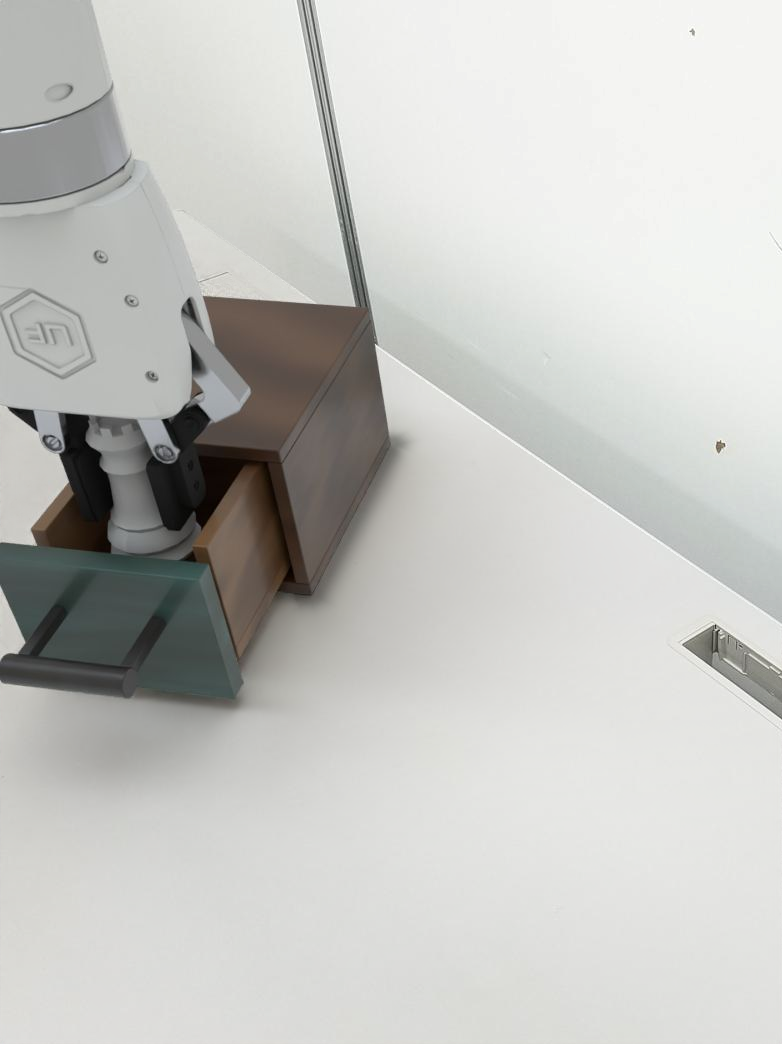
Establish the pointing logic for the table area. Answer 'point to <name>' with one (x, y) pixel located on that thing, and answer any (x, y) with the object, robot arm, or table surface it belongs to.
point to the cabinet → (302, 416)
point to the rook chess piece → (135, 494)
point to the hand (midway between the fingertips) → (145, 506)
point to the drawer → (146, 595)
